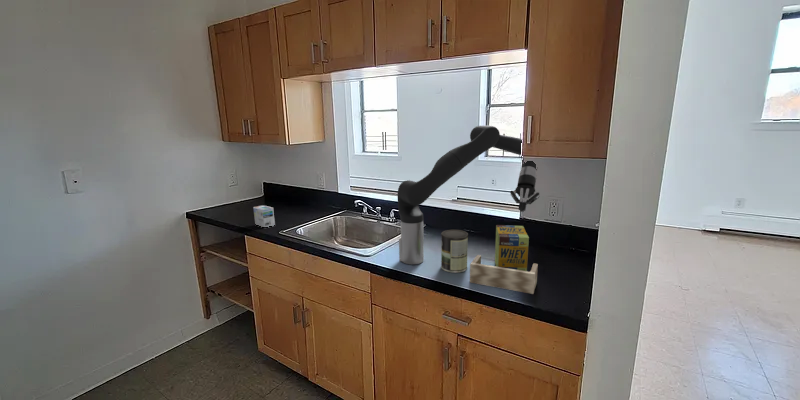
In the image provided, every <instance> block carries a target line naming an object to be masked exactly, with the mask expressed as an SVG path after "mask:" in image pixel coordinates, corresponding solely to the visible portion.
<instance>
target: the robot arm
mask: <svg viewBox="0 0 800 400" xmlns="http://www.w3.org/2000/svg"><path fill="white" fill-rule="evenodd" d="M469 138H470V141H469V142H467V143H464V144H461V145H459V146H457V147H454V148H453V149H450V150H449V151H448V152H446V153H445V154H444V155H442V156H441V157H440V158H439V159H437V161H436V162H435V164H434V166H433V168H432V170H431V171H430V172H429V173H428V174H427V175H426V176H424V177H423V178H422V179H420V180H418V181H413V180H410V179H409V180H404V181H402V182H401V183H400V184H399V186H398V189H397V209H398V214H399V216H400V217H399V218H400V238H399V239H398V250H399V251H398V252H399V253H398V255H399V257H398V258H399V259H398V260H399V262H401V263H404V264H406V265H418V264H422V263H423V262H425V261H424V258H425V257H424V256H425V255H424V253H425V251H424V250H425V249H424V213H423V212H422V211H421V209H420V207H419V206H421V205H422V204H424V203H425V201H427V200H428V199H429V197H430V196H432V195H433V194H434V193H435V192H436V191H437V190H438V189H439V188H440V187H441V186H442V185H444V184H445V183H447V182H448V181H449V180H450V179H451V178H453V177H454V176H455V175H457V174H458V173H460V171H461V170H463V169H464V168H465V167H466V166H468V165H469V164H470V163H472V162H473V161H474V160H475V159H476V158H478V157H479V156H481V155H482V154H484V153H485V152H487V151H488V150H490V149H491V148H493V149H498V150H502V151H505V152H508V153H511V154H513V155H514V154H515V155H520V158H521V159H520V160H521V167H520V171H519V174H518V175H519V176H518V180H517V185H516V187H515V188H514V189H515V190H510V191H509V192H510V196H511V198H512V199H513V200H514V201H515V203H516V204H519V205H518V211H519V212H522V213H524V212H526V211H527V210H526V209H527V205H532V204H533V203H534V202H536V200H538V199H539V198H540V192H539V191H538V192H537V191H536V182H537V176H538V175H537V174H538V168H537V169H536V164H535V163H534V162H533V161H527V162H526V163H525V162H524V164H523V160H522V156H521V143H522V140H523V139H522V138H518V137H514V136H511V135H510V136H509V135H503V134H501V133H500V131H499V129H498V128H497V127H496V126H493V125H477V126H474V128H473V129H471V132H470V134H469ZM518 197H519V198H518Z"/></svg>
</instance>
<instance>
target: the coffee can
mask: <svg viewBox="0 0 800 400" xmlns="http://www.w3.org/2000/svg"><path fill="white" fill-rule="evenodd" d="M440 236H441V239H440V240H441V250H440V251H441V252H440V253H441V255H440V256H441V261H440V262H441V264H440V268H441V270H442V271H445V272H447V273H451V274H452V273H453V274H455V273H456V274H457V273H462V272H465V271H467V270H468V247H469V246H468V242H469V241H468V238H469V233H468V232H467V231H465V230H463V229H445V230H443V231H442V232H441V233H440Z"/></svg>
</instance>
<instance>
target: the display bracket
mask: <svg viewBox="0 0 800 400" xmlns="http://www.w3.org/2000/svg"><path fill="white" fill-rule="evenodd" d="M538 265H539V264H538V263H534V262H533V264H532V267H531V269H530V271H528V270H527V271H522V270H515V269H509V268H503V267H496V265H489V264H483V263H482V255H481V254H477V255H476V256H475V257H474V258H473V260H472V261H471V263H470V264H469V283H471V284H476V285H482V286H487V287H493V288H498V289H504V290H509V291H515V292H519V293H520V292H521V293H525V294H531V295H534V293H535V289H536V286H537V284H538V283H537V282H538V269H539V268H538V267H539V266H538Z"/></svg>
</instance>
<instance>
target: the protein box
mask: <svg viewBox="0 0 800 400" xmlns="http://www.w3.org/2000/svg"><path fill="white" fill-rule="evenodd" d="M529 240H530V237H529V235H528V233H527V232H526V229H525V227H524V225H509V224H507V225H505V224H496V225H495V245H494V246H495V248H494V264H495V266H496V267H503V268H509V269H515V270H522V271H528V257H529V243H530V241H529Z"/></svg>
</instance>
